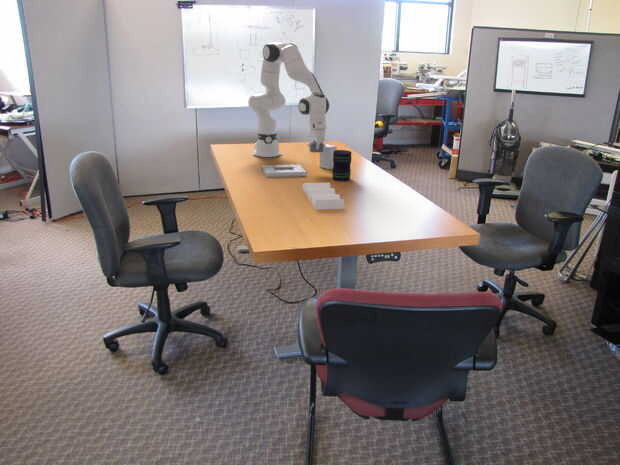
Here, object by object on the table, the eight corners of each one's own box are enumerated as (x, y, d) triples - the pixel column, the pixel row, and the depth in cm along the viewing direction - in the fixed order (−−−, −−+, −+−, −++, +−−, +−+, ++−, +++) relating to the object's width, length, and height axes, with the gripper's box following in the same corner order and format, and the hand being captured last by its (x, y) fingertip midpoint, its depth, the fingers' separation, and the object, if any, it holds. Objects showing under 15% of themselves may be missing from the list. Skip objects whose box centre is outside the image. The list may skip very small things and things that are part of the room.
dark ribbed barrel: (351, 177, 282) (353, 150, 276) (348, 182, 273) (349, 154, 267) (334, 176, 284) (335, 149, 279) (330, 180, 275) (331, 152, 270)
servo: (307, 150, 290) (307, 140, 288) (323, 150, 292) (323, 140, 290) (308, 152, 286) (308, 142, 284) (325, 152, 288) (325, 142, 286)
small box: (336, 168, 302) (337, 146, 297) (328, 169, 298) (328, 147, 293) (327, 165, 308) (327, 143, 303) (319, 166, 304) (319, 145, 299)
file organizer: (327, 188, 262) (327, 179, 260) (343, 210, 230) (344, 199, 228) (302, 189, 260) (302, 179, 258) (315, 211, 228) (315, 200, 226)
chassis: (262, 169, 294) (262, 165, 293) (299, 168, 298) (299, 164, 297) (266, 177, 278) (266, 172, 277) (305, 176, 282) (305, 171, 281)
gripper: (308, 120, 292) (307, 144, 297) (315, 126, 273) (314, 152, 279) (318, 120, 293) (317, 144, 298) (327, 126, 275) (325, 152, 280)
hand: (316, 148), depth 288 cm, fingers closed on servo, 4 cm apart
